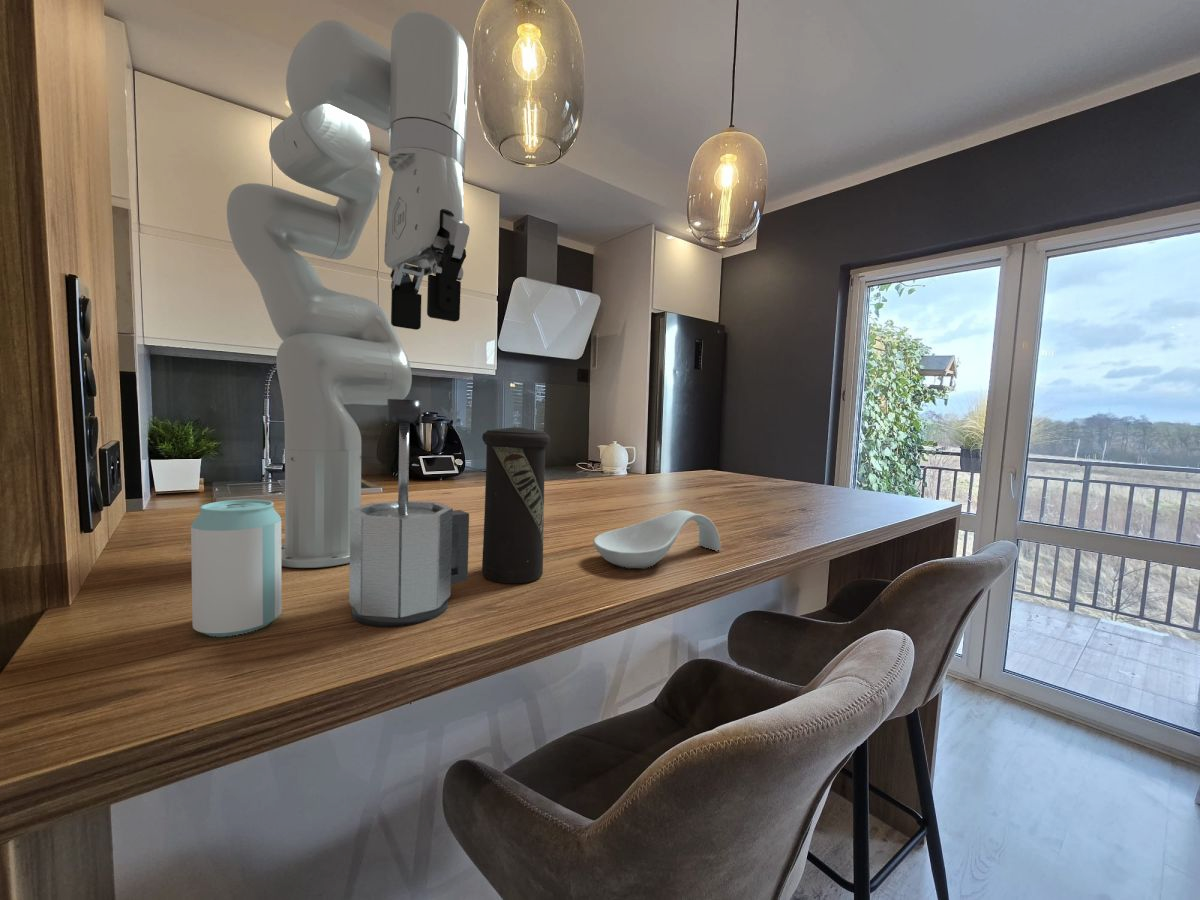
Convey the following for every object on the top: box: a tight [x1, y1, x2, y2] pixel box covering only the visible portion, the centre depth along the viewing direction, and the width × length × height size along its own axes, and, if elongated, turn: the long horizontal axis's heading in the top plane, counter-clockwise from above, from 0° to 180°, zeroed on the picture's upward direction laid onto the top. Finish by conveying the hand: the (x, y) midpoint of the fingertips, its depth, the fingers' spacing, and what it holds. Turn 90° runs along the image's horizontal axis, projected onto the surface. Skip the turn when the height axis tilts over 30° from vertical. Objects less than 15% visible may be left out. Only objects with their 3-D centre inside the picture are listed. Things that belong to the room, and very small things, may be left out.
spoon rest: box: [592, 509, 722, 569], centre depth 78 cm, size 24×12×7 cm, turn 127°
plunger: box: [369, 399, 435, 517], centre depth 53 cm, size 7×7×13 cm
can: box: [190, 499, 282, 638], centre depth 48 cm, size 7×7×12 cm
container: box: [481, 427, 551, 584], centre depth 66 cm, size 9×9×20 cm
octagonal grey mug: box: [348, 500, 470, 628], centre depth 55 cm, size 10×12×11 cm
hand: (423, 323), depth 53 cm, fingers open, 9 cm apart
